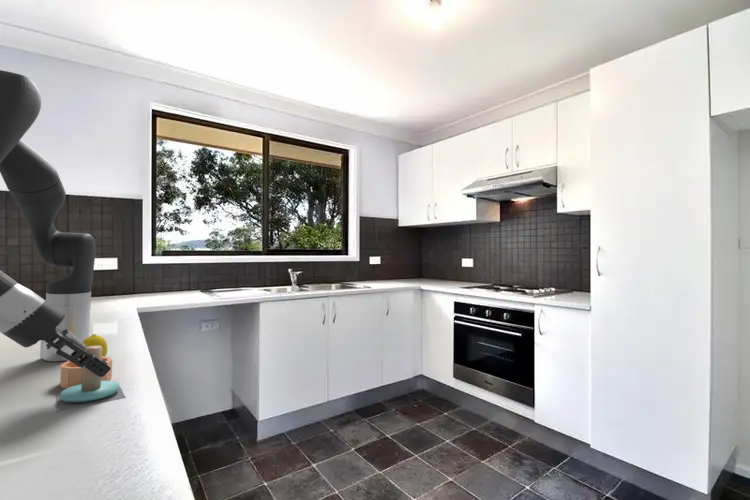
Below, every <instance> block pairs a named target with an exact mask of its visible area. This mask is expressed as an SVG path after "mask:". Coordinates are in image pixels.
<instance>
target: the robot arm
mask: <svg viewBox="0 0 750 500" xmlns="http://www.w3.org/2000/svg"><path fill="white" fill-rule="evenodd" d="M41 109H42V96H41V93H40V90H39V88H38V87H37V85H36V83H35V82H34V81H33V80H32V79H30V78H29V77H28V76H25V75H23V74H20V73H16V72H11V71H7V70H2V69H0V175H1V177H2V179H3V182H4V184H5V185H6V188H7V189H8V191H9V193H10V195H11V197H12V198H13V200H14V201H15V204H16V205H17V206H18V209H19V211H20V212H21V214H22V217H23V219H24V220H25V222H26V224H27V226H28V228H29V231H30V234H31V236H32V239H33V242H34V244H35V247H36V250H37V252H38V255H39V257H40V259H41V260H42V261H43V262H44V263H45V264H46V265H47V266H49V267H57V268H59V267H60V268H73V269H72V272H71V273H70V274H68V275H66V276H64V277H61V278H58V279H55V280H51V281H49V282H48V283H47V284H46V289H45V290H46V291H45V292H46V293H45V299H44V298H43V297H41V296H40V295H39V294H37V293H36V292H34V291H33V290H31V289H29V288H28V287H26V286H23V285H22V284H20V283H19V282H17V281H16V280H15V279H13V278H12V277H10V276H9V275H8V274H7V273H4V272H3V270H0V333H1V334H2V335H4V336H5V337H7V339H8V338H9V339H10V340H12V341H14V342H15V343H16V344H18V345H19V346H21V347H23V348H30V347H32V346H34V345H36V344H37V343H38V342H40V348H39V349H40V350H39V351H40V353H39V359H42V360H43V361H44V362H63V361H65V362H67V361H71V362H72V363H74V364H76V365H78V367H81V368H83V367H85V368H87V369H89V370H90V371H92V372H93V373H95V374H96V375H98V376H99V377H103V376H104V375H105V374H106V373H108V372H109V371H110V367H109V366H108V365H107V363H106V362H105V361H104V360H102V361H101V360H99V359H98V358H96V357H95V355H94V354H92V353H90V352H89V351H87V350H86V347H88V346H86V345H84V342H83V341H84V340H85V339H86V338H88V337H90V329H91V328H90V327H91V325H90V324H91V308H92V307H91V306H92V305H91V304H92V285H93V281H94V280H93V279H94V270H95V269H94V268H95V261H96V248H97V247H96V241H95V238H94V237H93V235H91V234H90V233H83V232H67V231H66V232H61V231H59V230H57V229H56V227H55V224H54V221H55V218H56V216H57V215H58V213H59V212H60V211H61V209H62V207H63V205H64V203H65V201H66V196H67V195H66V191H65V187H64V185H63V182H62V180H61V178H60V174H59V173H58V171H57V170H56V168H55V167H54V165H53V164H52V163H51V162H49V160H48V159H46V158H45V157H44V156H43V155H42V154H41V153H39V152H38V151H37V150H35V149H34V148H33V147H32V146H31V145H30V144H28V143H27V142H26V141H24V139H22V138H23V136H25V134H26V133H27V131H28V130H29V129H31V127H32V125H33V124H34V123H35V121H36V120H37V118H38V116H39V114H40V111H41ZM83 354H84V355H86V356H85V357H84V358H83Z"/></svg>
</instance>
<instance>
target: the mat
mask: <svg viewBox="0 0 750 500" xmlns="http://www.w3.org/2000/svg"><path fill="white" fill-rule="evenodd" d="M60 394H61V392H60V393H56V394H55V399H56V400H55V401H56V411H57V412H58V413H59V412H64V411H68V410H73V409H78V408H81V407H82V408H83V407H87V406H92V405H97V404H103V403H107V402H111V401H117V400H121V399H126V396H125V393H124V392H123V389H122V388H121V386H120V385H119V390H118V391H117V392H116V393H114V394H112V395H109V396H107V397H103V398H100V399H96V400H91V401H84V402H65V401H62V400H61V399H60Z"/></svg>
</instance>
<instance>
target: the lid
mask: <svg viewBox="0 0 750 500" xmlns="http://www.w3.org/2000/svg"><path fill="white" fill-rule="evenodd" d="M86 350H87V351H89V352H90V353H92V354H94V355H95V357H96V358H98V359H99V360H101V361H102V346H89V347H86ZM85 356H86V355H84V354H83V358H84V357H85ZM119 386H120V383H119V382H118V381H116V380H115V381H114V380H109V381H101V377H99V376H98V375H96V374H95V373H93V372H92V371H90V370H89V369H87V368H85V367H83V368H82V382H81V384H79V385H75V386H72V387H69V388H64V389H63V390H62V391H61V392H60V393H61V394H60V393H59V394H60V399H61V400H62V401H65V402H84V401H91V400H96V399H100V398H103V397H107V396H109V395H112V394H114V393H116V392H117V391H118V390H119Z"/></svg>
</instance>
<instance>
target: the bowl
mask: <svg viewBox="0 0 750 500" xmlns="http://www.w3.org/2000/svg"><path fill="white" fill-rule="evenodd" d="M102 360H104V361H105V362H106V363H107V365H108V366H109V367H110V371H109V372H108V373H106V374H105V375H104V376H103V377H101V381H111V379H112V376H113V372H112V371H113V359H112V357H111V356H109V357H108V356H105V357H102ZM81 382H82V368H81V367H78V365H76V364H74V363H72V362H71V361H67V360H66V361H65V362H63V363H61V364H60V377H59V386H60V387H61V388H62V389H67V388H69V387H72V386H75V385H79V384H81Z"/></svg>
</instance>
